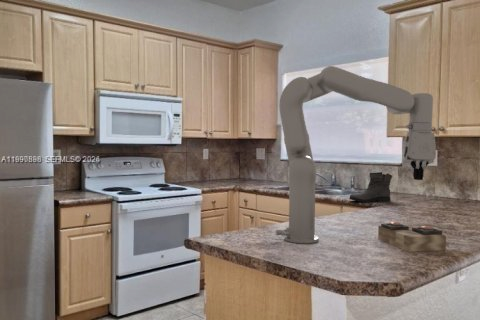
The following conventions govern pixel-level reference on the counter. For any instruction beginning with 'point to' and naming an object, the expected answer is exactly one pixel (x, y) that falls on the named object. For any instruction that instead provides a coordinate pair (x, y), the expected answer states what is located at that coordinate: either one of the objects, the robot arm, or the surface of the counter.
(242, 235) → the counter surface
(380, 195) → the boot
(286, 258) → the counter surface
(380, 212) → the counter surface
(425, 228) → the peg
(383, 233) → the maple block
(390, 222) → the peg
